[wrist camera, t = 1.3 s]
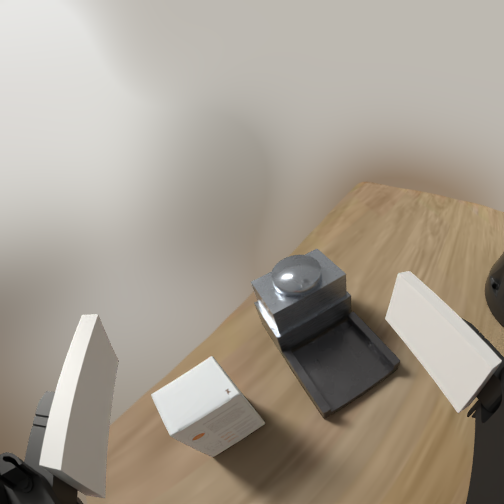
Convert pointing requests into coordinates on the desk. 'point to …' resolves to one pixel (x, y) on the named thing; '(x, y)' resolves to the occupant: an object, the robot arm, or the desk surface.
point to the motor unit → (321, 331)
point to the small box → (206, 409)
